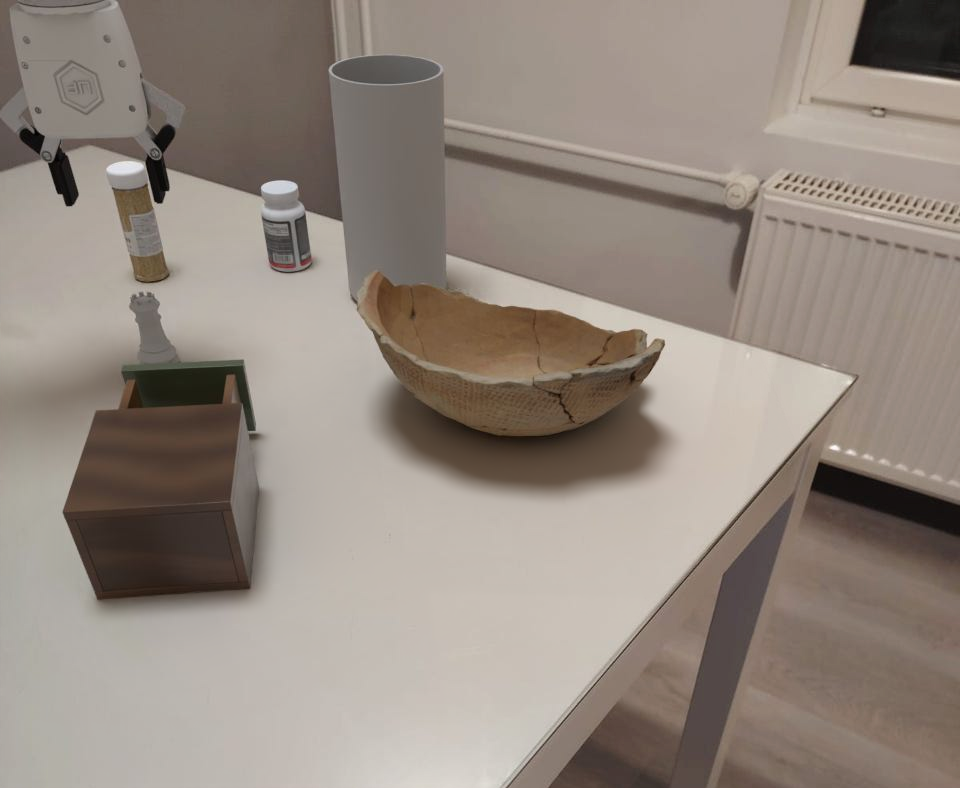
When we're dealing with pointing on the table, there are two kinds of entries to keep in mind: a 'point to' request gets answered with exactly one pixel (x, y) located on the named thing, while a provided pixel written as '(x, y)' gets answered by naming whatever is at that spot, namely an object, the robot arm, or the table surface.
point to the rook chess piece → (151, 331)
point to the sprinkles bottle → (138, 220)
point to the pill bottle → (285, 227)
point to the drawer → (188, 385)
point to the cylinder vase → (391, 167)
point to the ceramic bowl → (502, 358)
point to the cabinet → (165, 501)
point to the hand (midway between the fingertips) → (116, 199)
